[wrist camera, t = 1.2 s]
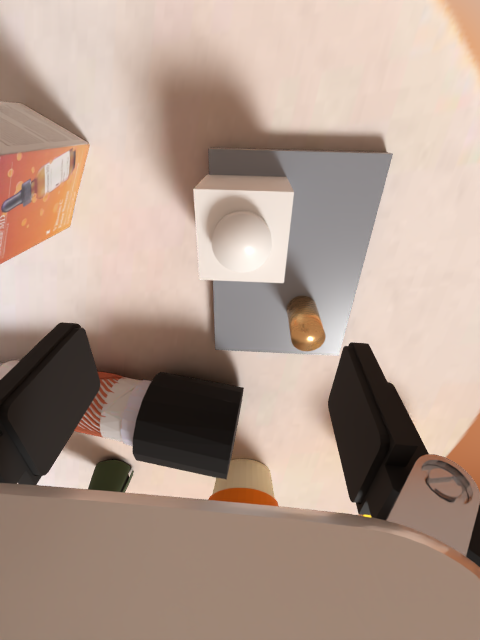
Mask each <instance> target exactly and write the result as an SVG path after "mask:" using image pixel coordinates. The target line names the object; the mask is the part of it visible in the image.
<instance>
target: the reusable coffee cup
mask: <svg viewBox="0 0 480 640" xmlns="http://www.w3.org/2000/svg"><path fill="white" fill-rule="evenodd" d="M208 500H215V501H226V502H236V503H247V504H258V505H269V506H278V503H277V501H276V500H275V498H274V492H273V486H272V480H271V473H270V470H269V469H268V468H267V467H266V466H265V465H264V464H262V463H260V462H258V461H254V460H250V459H235V460H231V461H230V466H229V471H228V475H227V480H225V479H221V478H216V482H215V486H214V490H213V494H212V496H210V498H209V499H208Z"/></svg>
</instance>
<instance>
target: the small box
mask: <svg viewBox="0 0 480 640" xmlns="http://www.w3.org/2000/svg"><path fill="white" fill-rule="evenodd" d="M89 146H90V145H89V143H88V142H86V141H85V140H83V139H81V138H80V137H78V136H76V135H75V134H73V133H71V132H70V131H68V130H66V129H64V128H63V127H61V126H59V125H58V124H56V123H54V122H53V121H51V120H49V119H47V118H46V117H44V116H42V115H41V114H39V113H37V112H36V111H34V110H32V109H30V108H29V107H27V106H25V105H24V104H21V103H13V102H2V101H0V264H2V263H3V262H5V261H7V260H9V259H11V258H13V257H15V256H17V255H18V254H20V253H22V252H24V251H26V250H28V249H30V248H31V247H33V246H35V245H37V244H39V243H41V242H43V241H44V240H46V239H48V238H50V237H52V236H54V235H56V234H57V233H59V232H61V231H63V230H65V229H67V228H69V227H70V225H71V220H72V215H73V210H74V206H75V201H76V197H77V193H78V189H79V186H80V182H81V178H82V174H83V170H84V166H85V162H86V158H87V154H88V150H89Z"/></svg>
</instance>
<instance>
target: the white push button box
mask: <svg viewBox="0 0 480 640" xmlns="http://www.w3.org/2000/svg"><path fill="white" fill-rule="evenodd" d="M193 192H194V208H195V224H196V239H197V255H198V271H199V280H217V281H242V282H267V283H284V277H285V268H286V260H287V251H288V242H289V233H290V224H291V215H292V206H293V197H294V191H293V189H292V187H291V185H290V183H289V181H288V179H287V177H273V176H239V175H206V176H205V177H204V178H203V179H202V180H201V181H200V182H199V183H198V184H197V186H196V187H195V188H194V189H193Z"/></svg>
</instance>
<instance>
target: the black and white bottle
mask: <svg viewBox="0 0 480 640" xmlns="http://www.w3.org/2000/svg"><path fill="white" fill-rule="evenodd" d="M18 362H19V361H18V360H11V361H8V362H6V363H3V364H2V365H1V366H0V380H1V379H2V378H3V377H4V376H5V375H6V374H7V373H8V372H9V371H10V370H11V369H12V368H13V367H14V366H15V365H16V364H17V363H18ZM97 372H98V371H97ZM98 375H99V379H100V389H99V391H98V393H97V395H96V396H95V398H94V400H93V401H92V403H91V404H90V406H89V408H88V409H87V411H86V412H85V414H84V416H83V417H82V419H81V420H80V422H79V424H78V425H77V427H76V428H75V430H74V431H76V432H81V433H85V434H90V435H94V436H99V437H104V438H107V439H111V440H116V441H120V442H123V443H124V444H126V445H131V446H133V455H134V457H135V459H136V460H138V461H143V462H147V463H152V464H156V465H161V466H166V467H170V468H175V469H179V470H184V471H189V472H193V473H198V474H202V475H207V476H212V477H216V478H221V479H225V480H227V475H228V471H229V466H230V461H231V456H232V451H233V446H234V441H235V435H236V430H237V425H238V419H239V414H240V408H241V402H242V396H243V389H244V388H242V387H236V386H231V385H226V384H221V383H215V382H210V381H205V380H200V379H194V378H189V377H184V376H179V375H173V374H168V373H163V372H160V373H158V374H157V375H156V376H155V378H154V379H153V380H152V381H149V380H141V381H140V380H136V379H131V378H126V377H122V376H120V375H117V374H113V373H106V372H98Z"/></svg>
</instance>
